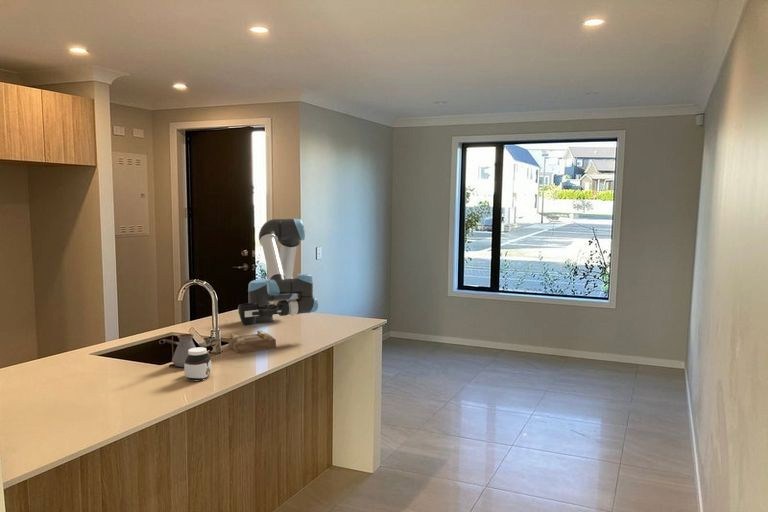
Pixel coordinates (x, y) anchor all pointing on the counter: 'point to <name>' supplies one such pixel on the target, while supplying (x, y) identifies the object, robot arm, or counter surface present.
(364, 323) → the counter surface
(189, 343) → the coffee pot
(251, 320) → the mug
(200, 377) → the spread jar
